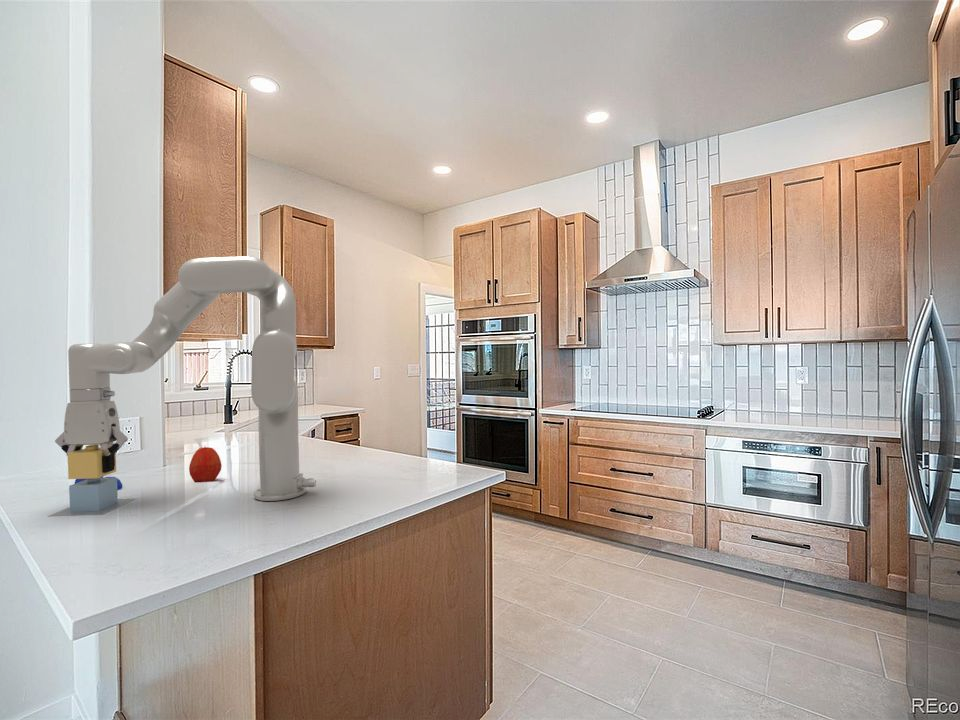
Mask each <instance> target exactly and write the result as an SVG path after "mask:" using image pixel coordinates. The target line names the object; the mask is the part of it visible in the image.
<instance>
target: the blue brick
mask: <svg viewBox="0 0 960 720" xmlns="http://www.w3.org/2000/svg"><path fill="white" fill-rule="evenodd" d="M117 478H118V477H116V478H105V477H103V478H92V479H87V480H84V481H81V482H78V483H76V484H75V483H73V484H70V485H68V494H69V507H70V512H78V511H100V510H102V509H104V508H106V507H108V506H111V505H113V504H115V503H117V502H118V499H119V498H118V497H119V495H118V490H117Z"/></svg>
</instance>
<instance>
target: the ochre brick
mask: <svg viewBox="0 0 960 720" xmlns="http://www.w3.org/2000/svg"><path fill="white" fill-rule="evenodd" d="M99 446H100V444H99V445H85V448H82V449H81V450H77V451H74V452H70V453H68V456H67V476H68V477H67V478H68V479H67V480H76V479H92V478H100V477H103V478H104V476H105V477H106V476H108V475H111V474H113V473H116V472H117V453H115V467H114V470H113V471H110V472H107V473H103V471H102V456H105V454H104V452H103V450H102V448H101V446H100V447H99Z"/></svg>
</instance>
